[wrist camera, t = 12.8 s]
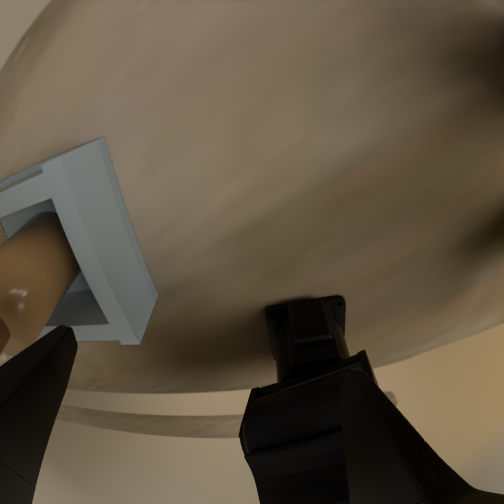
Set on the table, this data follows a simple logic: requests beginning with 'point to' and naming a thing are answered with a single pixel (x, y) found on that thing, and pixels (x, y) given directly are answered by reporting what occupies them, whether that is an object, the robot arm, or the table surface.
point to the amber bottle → (33, 279)
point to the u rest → (87, 242)
